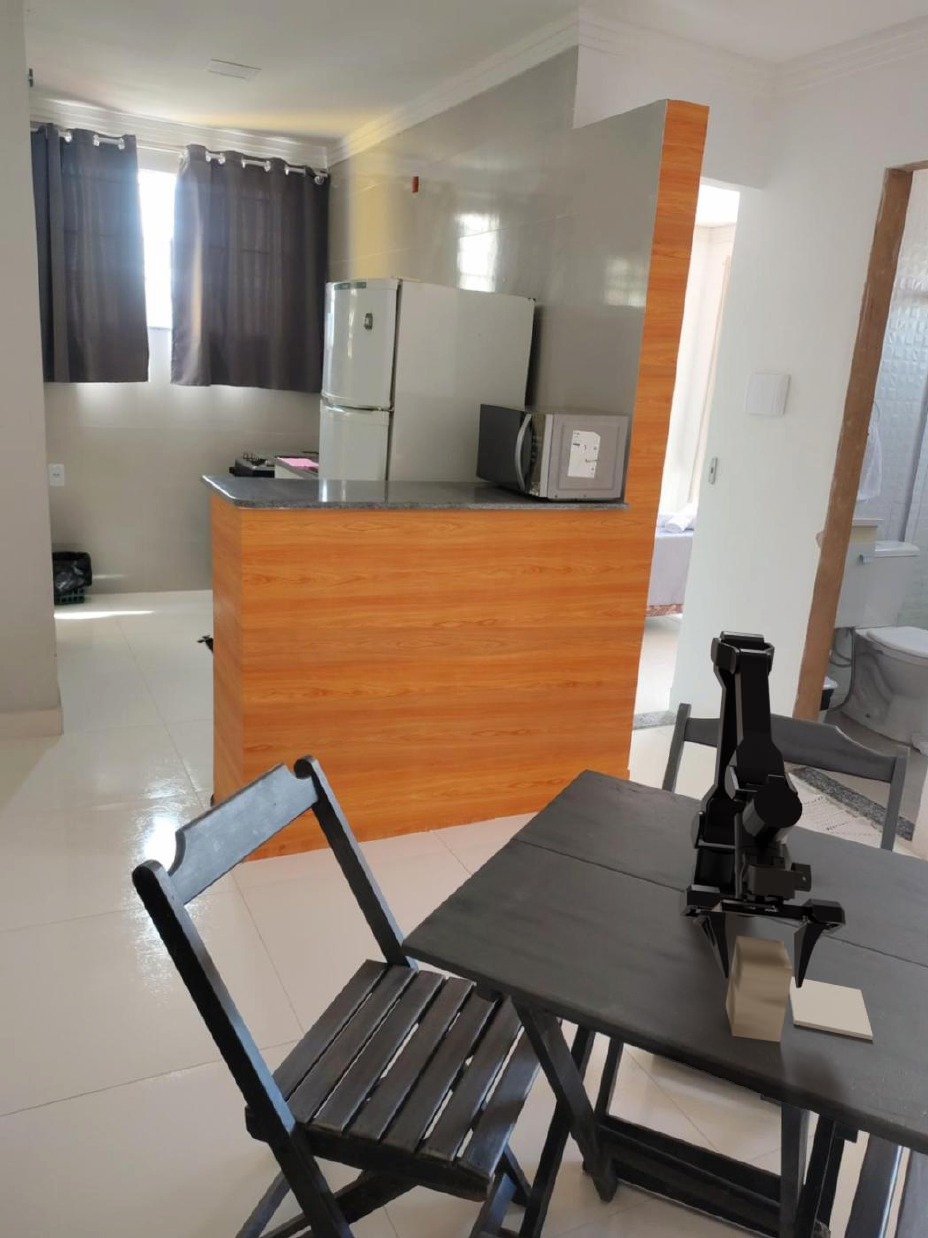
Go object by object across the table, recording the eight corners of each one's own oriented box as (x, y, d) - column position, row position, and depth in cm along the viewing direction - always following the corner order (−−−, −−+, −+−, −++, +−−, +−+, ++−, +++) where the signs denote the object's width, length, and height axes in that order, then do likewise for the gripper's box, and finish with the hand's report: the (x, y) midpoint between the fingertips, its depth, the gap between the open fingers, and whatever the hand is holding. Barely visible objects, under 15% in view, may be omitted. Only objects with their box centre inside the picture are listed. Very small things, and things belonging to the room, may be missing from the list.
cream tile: (793, 1024, 114) (794, 1019, 114) (787, 979, 123) (787, 975, 122) (872, 1040, 112) (872, 1036, 112) (859, 994, 121) (860, 990, 121)
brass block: (725, 1005, 117) (736, 935, 114) (770, 1011, 116) (783, 941, 114) (732, 1035, 111) (744, 963, 109) (779, 1042, 111) (793, 969, 108)
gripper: (695, 825, 112) (694, 960, 105) (855, 843, 111) (866, 982, 103) (679, 852, 122) (678, 977, 114) (826, 869, 120) (835, 997, 113)
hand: (762, 983), depth 111 cm, fingers open, 8 cm apart
